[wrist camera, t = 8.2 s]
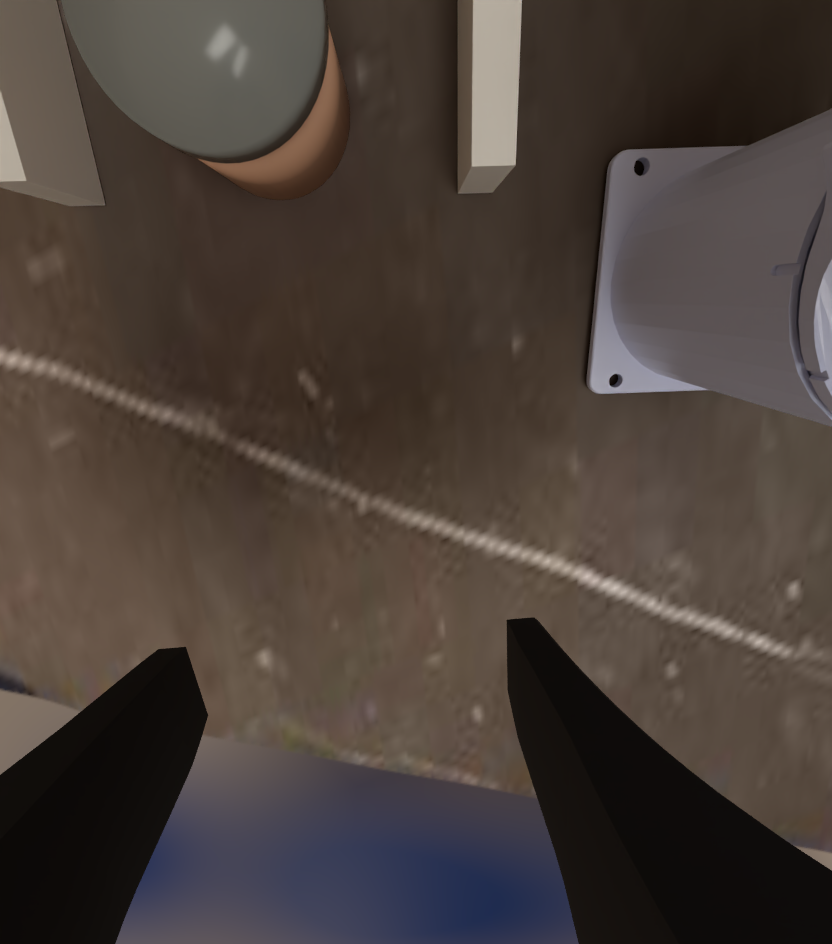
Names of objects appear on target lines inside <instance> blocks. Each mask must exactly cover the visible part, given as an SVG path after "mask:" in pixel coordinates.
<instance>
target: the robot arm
mask: <svg viewBox="0 0 832 944" xmlns="http://www.w3.org/2000/svg"><path fill="white" fill-rule="evenodd" d="M637 160H638V161H641V162H642V163H643V165H644V171H643V174H642V175H641V176H639V175H637V174H636V173H635V172H634V165H635V162H636V161H637ZM614 374H617V375H618V381H617V383H616V384H615V385H612V386H610V385H609V379H610V377H611V376H612V375H614ZM586 381H587V386H588V388H589V389H590V390H591V391H593V392H595V393H598V394H613V393H640V392H666V391H693V390H712V391H715V392H718V393H722V394H725V395H728V396H731V397H735V398H738V399H741V400H745V401H748V402H751V403H755V404H758V405H761V406H765V407H768V408H771V409H774V410H778V411H781V412H784V413H788V414H791V415H794V416H798V417H801V418H804V419H808V420H811V421H814V422H817V423H821V424H824V425H827V426H831V427H832V109H830V110H828V111H825V112H823V113H821V114H819V115H816V116H814V117H812V118H809V119H807V120H805V121H803V122H800V123H798V124H796V125H794V126H791V127H789V128H787V129H785V130H782V131H780V132H778V133H776V134H773V135H771V136H769V137H766V138H764V139H762V140H760V141H757V142H755V143H753V144H751V145H748V146H723V147H691V148H660V149H628V150H624V151H621V152H620V153H619V154H617V155H616V156H615V157H613V158H612V160H611V161H610V163H609V166H608V169H607V178H606V188H605V198H604V208H603V218H602V228H601V239H600V249H599V259H598V269H597V279H596V289H595V299H594V309H593V319H592V329H591V339H590V349H589V360H588V370H587V380H586ZM507 673H508V694H509V699H510V703H511V708H512V713H513V717H514V722H515V726H516V731H517V735H518V739H519V742H520V745H521V749H522V752H523V755H524V758H525V761H526V764H527V767H528V770H529V773H530V777H531V780H532V783H533V786H534V789H535V792H536V795H537V798H538V801H539V804H540V807H541V810H542V813H543V816H544V819H545V823H546V826H547V829H548V832H549V835H550V838H551V841H552V844H553V847H554V850H555V853H556V857H557V860H558V863H559V867H560V870H561V874H562V877H563V881H564V885H565V889H566V893H567V897H568V901H569V905H570V909H571V913H572V918H573V922H574V926H575V930H576V934H577V938H578V942H579V944H832V871H831V870H830V869H828V868H827V867H825V866H824V865H822V864H820V863H819V862H818V861H816V860H814V859H813V858H811V857H810V856H808V855H807V854H805V853H804V852H802V851H801V850H799V849H798V848H796V847H794V846H793V845H791V844H790V843H789V842H787V841H786V840H784V839H783V838H781V837H780V836H778V835H777V834H775V833H774V832H773V831H771V830H770V829H768V828H767V827H766V826H764V825H763V824H761V823H760V822H759V821H757V820H756V819H754V818H753V817H752V816H750V815H749V814H747V813H746V812H745V811H743V810H742V809H740V808H739V807H738V806H736V805H735V804H734V803H732V802H731V801H729V800H728V799H727V798H725V797H724V796H722V795H721V794H720V793H718V792H717V791H716V790H714V789H713V788H712V787H710V786H709V785H708V784H707V783H705V782H704V781H703V780H701V779H700V778H699V777H698V776H696V775H695V774H694V773H692V772H691V771H690V770H689V769H687V768H686V767H685V766H684V765H683V764H681V763H680V762H679V761H678V760H677V759H675V758H674V757H673V756H672V755H670V754H669V753H668V752H667V751H666V750H664V749H663V748H662V747H661V746H660V745H659V744H658V743H656V742H655V741H654V740H653V739H652V738H651V737H650V736H648V735H647V734H646V733H645V732H644V731H643V730H642V729H641V728H639V727H638V726H637V725H636V724H635V723H634V722H633V721H632V720H631V719H630V718H629V717H628V716H627V715H626V714H624V713H623V712H622V711H621V710H620V709H619V708H618V707H617V706H616V705H615V704H614V703H613V702H612V701H611V700H610V699H609V698H608V697H607V696H606V695H605V694H604V693H603V692H602V691H601V690H600V689H599V688H598V687H597V686H596V685H595V684H594V683H593V682H592V681H591V680H590V679H589V678H588V677H587V676H586V675H585V674H584V673H583V672H582V670H581V669H580V668H579V667H578V666H577V665H576V664H575V663H574V662H573V661H572V660H571V658H570V657H569V656H568V655H567V654H566V653H565V652H564V651H563V649H562V648H561V647H560V646H559V645H558V644H557V643H556V641H555V640H554V639H553V638H552V637H551V636H550V634H549V633H548V632H547V631H546V630H545V628H544V627H543V626H542V625H541V624H540V622H539V621H538V620H536V619H535V618H522V619H510V620H507ZM207 717H208V714H207V711H206V708H205V705H204V701H203V698H202V695H201V692H200V689H199V686H198V683H197V680H196V677H195V674H194V671H193V668H192V665H191V661H190V658H189V655H188V652H187V649H186V647H179V648H167V649H158V650H157V651H156V652H154V653H153V654H152V655H150V656H149V657H148V658H146V659H145V660H144V661H143V662H141V663H140V664H139V665H138V666H136V667H135V668H134V669H133V670H131V671H130V672H129V673H128V674H126V675H125V676H124V677H123V678H122V679H120V680H119V681H118V682H117V683H115V684H114V685H113V686H112V687H111V688H109V689H108V690H107V691H106V692H105V693H103V694H102V695H101V696H100V697H98V698H97V699H96V700H95V701H94V702H92V703H91V704H90V705H89V706H87V707H86V708H85V709H84V710H83V711H81V712H80V713H79V714H78V715H76V716H75V717H74V718H73V719H72V720H70V721H69V722H68V723H67V724H66V725H64V726H63V727H62V728H60V729H59V730H58V731H57V732H55V733H54V734H53V735H51V736H50V737H49V738H48V739H46V740H45V741H44V742H42V743H41V744H40V745H39V746H37V747H36V748H35V749H33V750H32V751H31V752H29V753H28V754H27V755H25V756H24V757H23V758H22V759H20V760H19V761H18V762H16V763H15V764H14V765H13V766H11V767H10V768H9V769H7V770H6V771H5V772H3V773H2V774H1V775H0V944H115V943H116V940H117V937H118V935H119V932H120V929H121V926H122V924H123V921H124V918H125V916H126V913H127V911H128V909H129V906H130V904H131V901H132V899H133V897H134V894H135V891H136V889H137V887H138V885H139V882H140V880H141V878H142V876H143V874H144V871H145V869H146V867H147V865H148V863H149V860H150V858H151V856H152V854H153V852H154V849H155V847H156V845H157V843H158V841H159V838H160V836H161V834H162V832H163V830H164V827H165V825H166V823H167V821H168V819H169V816H170V814H171V812H172V810H173V808H174V805H175V803H176V801H177V799H178V796H179V794H180V792H181V790H182V787H183V785H184V783H185V781H186V778H187V776H188V774H189V771H190V769H191V767H192V764H193V762H194V759H195V756H196V752H197V749H198V747H199V744H200V740H201V737H202V734H203V730H204V727H205V724H206V720H207Z"/></svg>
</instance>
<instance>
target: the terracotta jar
mask: <svg viewBox="0 0 832 944" xmlns="http://www.w3.org/2000/svg"><path fill="white" fill-rule="evenodd" d="M61 2H62V6H63V10H64V14H65V18H66V20H67V23H68V26H69V29H70V32H71V35H72V37H73V39H74V42H75V44H76V46H77V48H78V50H79V52H80V55H81V57H82V58H83V60H84V62H85V64H86V65H87V67H88V69H89V70H90V72H91V74H92V75H93V77H94V78H95V80H96V81H97V82H98V84H99V85H100V87H101V88H102V89H103V91H104V92H105V93H106V94H107V95H108V97H109V98H110V99H111V100H112V101H113V102H114V103H115V104H116V106H117V107H118V108H119V109H121V110H122V111H123V112H124V113H125V114H126V115H127V116H128V117H129V118H130V119H132V120H133V121H134V122H136V123H137V124H138V125H140V126H141V127H142V128H144V129H145V130H147V131H148V132H150V133H151V134H153V135H154V136H156V137H157V138H159V139H160V140H162V141H164V142H165V143H167V144H168V145H170V146H172V147H173V148H175V149H177V150H179V151H181V152H182V153H185V154H187V155H190V156H192V157H195V158H197V159H199V160H200V161H202V162H203V163H205V164H206V165H208V166H209V167H211V168H212V169H214V170H215V171H217V172H218V173H220V174H221V175H223V176H224V177H226V178H227V179H229V180H230V181H232V182H233V183H235V184H236V185H238V186H239V187H240V188H242V189H244V190H246V191H248V192H249V193H251V194H254V195H256V196H259V197H262V198H266V199H272V200H290V199H295V198H299V197H302V196H304V195H307V194H309V193H311V192H312V191H314V190H316V189H317V188H318V187H320V186H321V185H322V184H323V183H324V182H325V181H326V180H327V179H328V178H329V177H330V176H331V175H332V173H333V172H334V171H335V169H336V168H337V166H338V164H339V162H340V160H341V158H342V156H343V153H344V151H345V148H346V144H347V140H348V135H349V128H350V107H349V99H348V94H347V89H346V85H345V82H344V78H343V75H342V71H341V68H340V64H339V61H338V57H337V54H336V50H335V47H334V43H333V40H332V36H331V32H330V29H329V25H328V15H327V7H326V2H325V0H61Z"/></svg>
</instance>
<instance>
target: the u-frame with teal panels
mask: <svg viewBox="0 0 832 944" xmlns="http://www.w3.org/2000/svg"><path fill="white" fill-rule="evenodd" d="M521 11H522V0H458V194H469V193H493V192H494V190H495V189H496V188H497V187H498V186H499V184H500V183H501V182H502V181H503V180H504V178H505V177H506V176H507V175H508V174H509V173H510V171H511V170H512V169H513V168H514V167H515V165H516V142H517V116H518V90H519V64H520V38H521ZM0 187H1V188H4V189H8V190H12V191H15V192H19V193H23V194H26V195H30V196H34V197H37V198H41V199H45V200H48V201H52V202H56V203H59V204H63V205H67V206H99V205H105V201H104V196H103V192H102V188H101V184H100V180H99V176H98V171H97V167H96V163H95V159H94V155H93V151H92V146H91V142H90V138H89V134H88V130H87V125H86V121H85V117H84V113H83V109H82V105H81V100H80V96H79V92H78V88H77V84H76V80H75V75H74V71H73V67H72V63H71V59H70V54H69V50H68V46H67V42H66V38H65V34H64V29H63V25H62V21H61V17H60V13H59V9H58V4H57V0H0Z"/></svg>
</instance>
